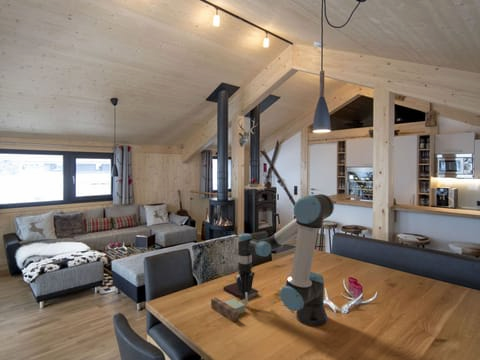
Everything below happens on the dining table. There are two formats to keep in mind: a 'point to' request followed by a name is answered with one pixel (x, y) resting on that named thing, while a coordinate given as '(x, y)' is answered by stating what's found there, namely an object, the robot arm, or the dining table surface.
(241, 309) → the block
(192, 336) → the dining table surface
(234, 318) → the board
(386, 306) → the dining table surface
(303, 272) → the robot arm
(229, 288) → the book
